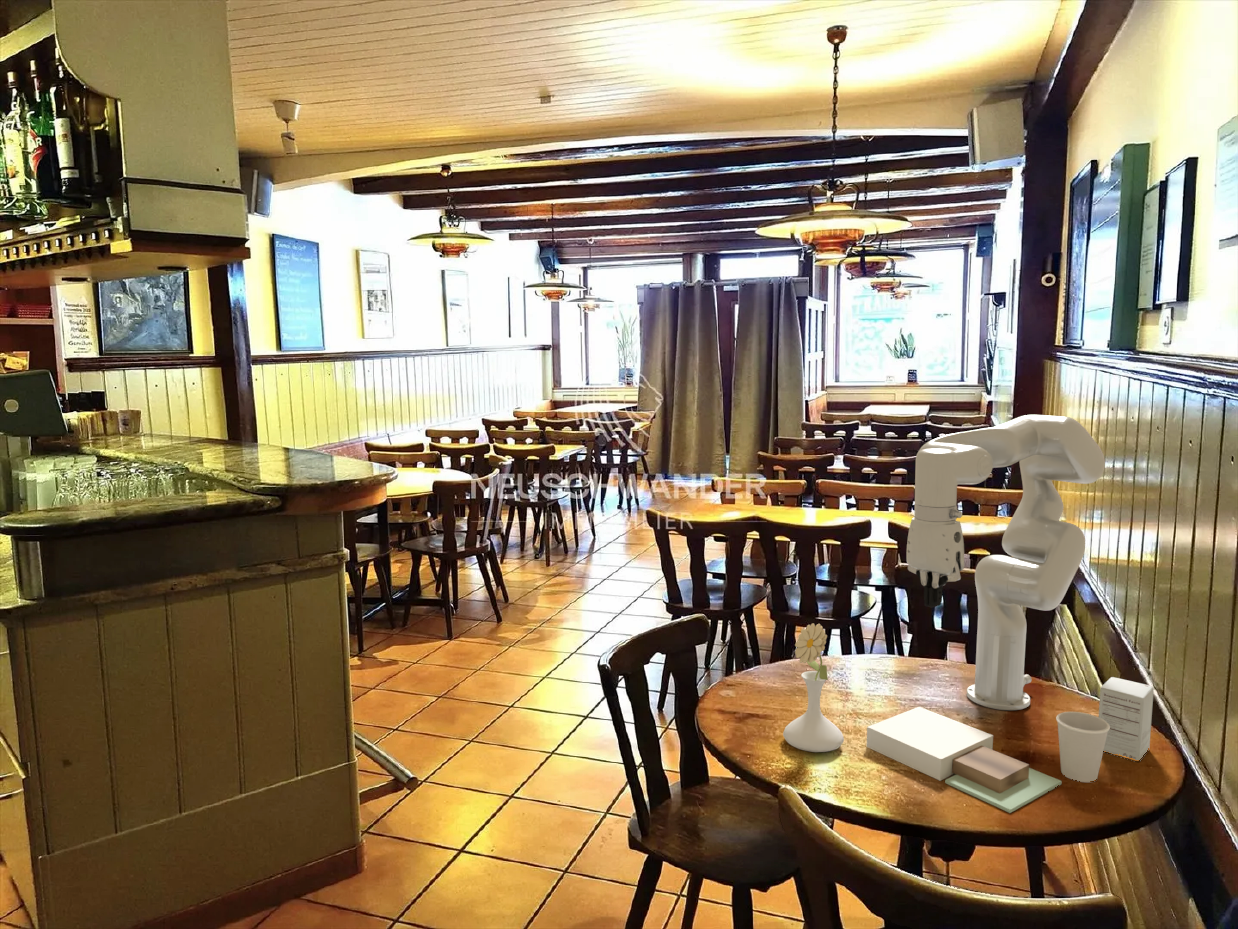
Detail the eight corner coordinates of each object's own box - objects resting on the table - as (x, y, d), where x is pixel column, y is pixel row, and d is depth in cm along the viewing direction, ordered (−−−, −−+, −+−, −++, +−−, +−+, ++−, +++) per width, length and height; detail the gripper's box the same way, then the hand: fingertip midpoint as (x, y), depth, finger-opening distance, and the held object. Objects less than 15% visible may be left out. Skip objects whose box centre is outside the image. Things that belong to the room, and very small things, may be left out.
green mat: (997, 757, 157) (997, 754, 157) (1061, 784, 148) (1061, 781, 148) (945, 783, 148) (945, 780, 148) (1010, 813, 139) (1010, 809, 139)
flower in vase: (779, 731, 169) (781, 609, 166) (837, 732, 169) (840, 610, 165) (788, 762, 156) (791, 631, 153) (851, 763, 156) (855, 632, 153)
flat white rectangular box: (918, 725, 171) (919, 706, 171) (992, 755, 158) (993, 735, 158) (866, 746, 162) (867, 727, 162) (940, 780, 149) (941, 759, 149)
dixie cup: (1087, 791, 145) (1091, 735, 144) (1042, 770, 153) (1045, 717, 151) (1116, 779, 149) (1120, 725, 148) (1071, 759, 157) (1074, 707, 155)
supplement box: (1106, 737, 165) (1111, 675, 164) (1150, 750, 160) (1155, 686, 158) (1094, 750, 160) (1099, 686, 159) (1139, 763, 155) (1144, 697, 153)
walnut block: (981, 758, 156) (981, 745, 156) (1028, 778, 149) (1029, 764, 148) (952, 772, 151) (952, 759, 151) (999, 793, 144) (1000, 779, 143)
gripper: (982, 516, 159) (979, 610, 162) (912, 505, 171) (910, 593, 174) (960, 522, 155) (957, 619, 157) (889, 510, 167) (888, 600, 169)
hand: (932, 605), depth 166 cm, fingers closed
